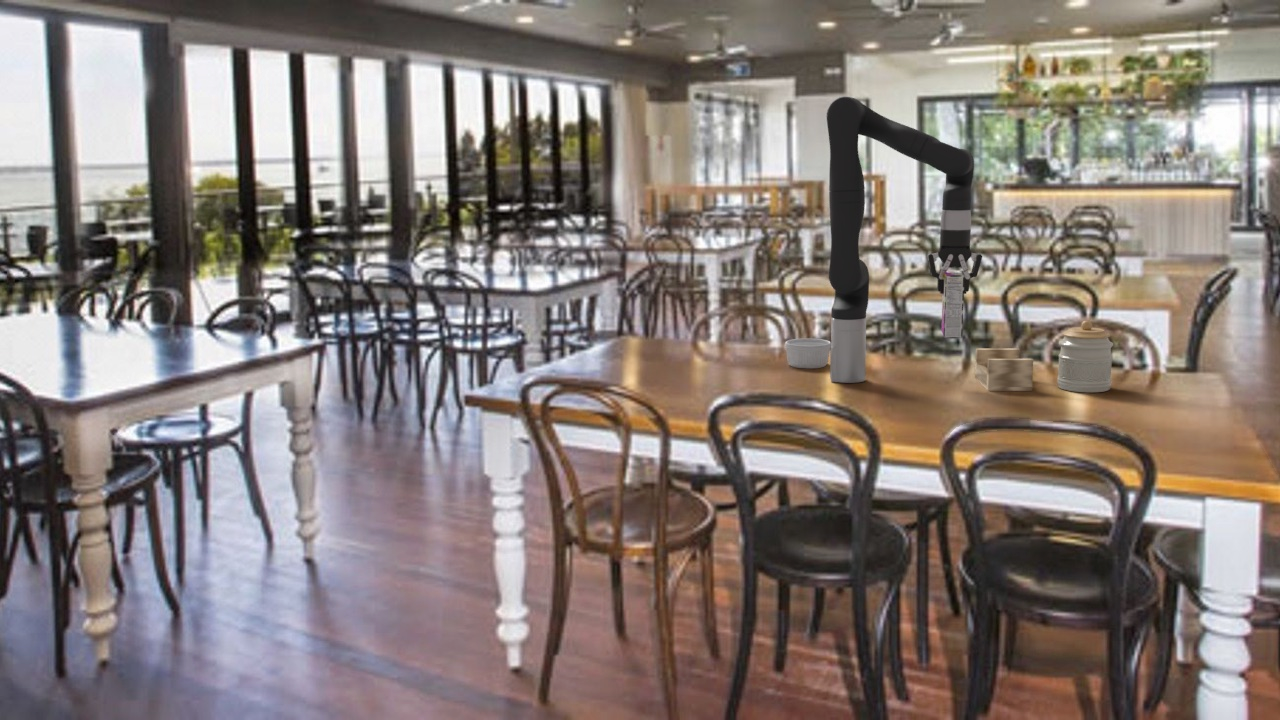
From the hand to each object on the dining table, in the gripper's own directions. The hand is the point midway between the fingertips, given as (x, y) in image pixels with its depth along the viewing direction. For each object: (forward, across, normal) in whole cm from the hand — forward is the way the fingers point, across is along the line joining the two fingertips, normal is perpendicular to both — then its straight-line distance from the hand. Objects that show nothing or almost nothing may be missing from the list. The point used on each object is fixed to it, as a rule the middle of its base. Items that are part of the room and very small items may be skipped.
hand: (953, 293), depth 297 cm
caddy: (+24, +14, +3) cm, 28 cm away
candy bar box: (+11, 0, 0) cm, 11 cm away
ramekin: (+25, -36, +31) cm, 54 cm away
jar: (+24, +34, -3) cm, 42 cm away
